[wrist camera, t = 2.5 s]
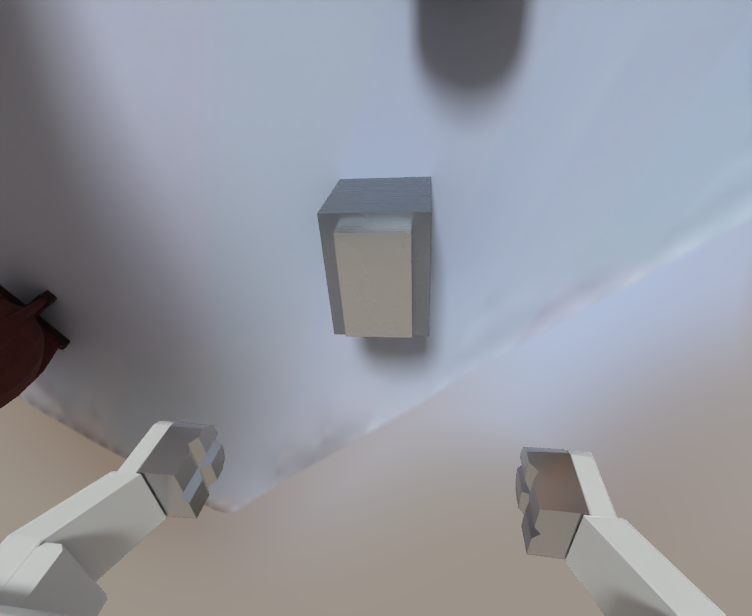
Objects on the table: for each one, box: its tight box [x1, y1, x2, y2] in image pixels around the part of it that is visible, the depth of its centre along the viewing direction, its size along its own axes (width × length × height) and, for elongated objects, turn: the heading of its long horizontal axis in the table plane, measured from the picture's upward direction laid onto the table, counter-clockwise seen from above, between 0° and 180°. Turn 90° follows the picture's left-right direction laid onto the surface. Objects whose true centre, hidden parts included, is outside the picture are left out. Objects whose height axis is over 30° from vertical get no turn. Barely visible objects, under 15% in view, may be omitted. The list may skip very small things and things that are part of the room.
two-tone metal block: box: [317, 177, 431, 338], centre depth 19 cm, size 4×6×6 cm
